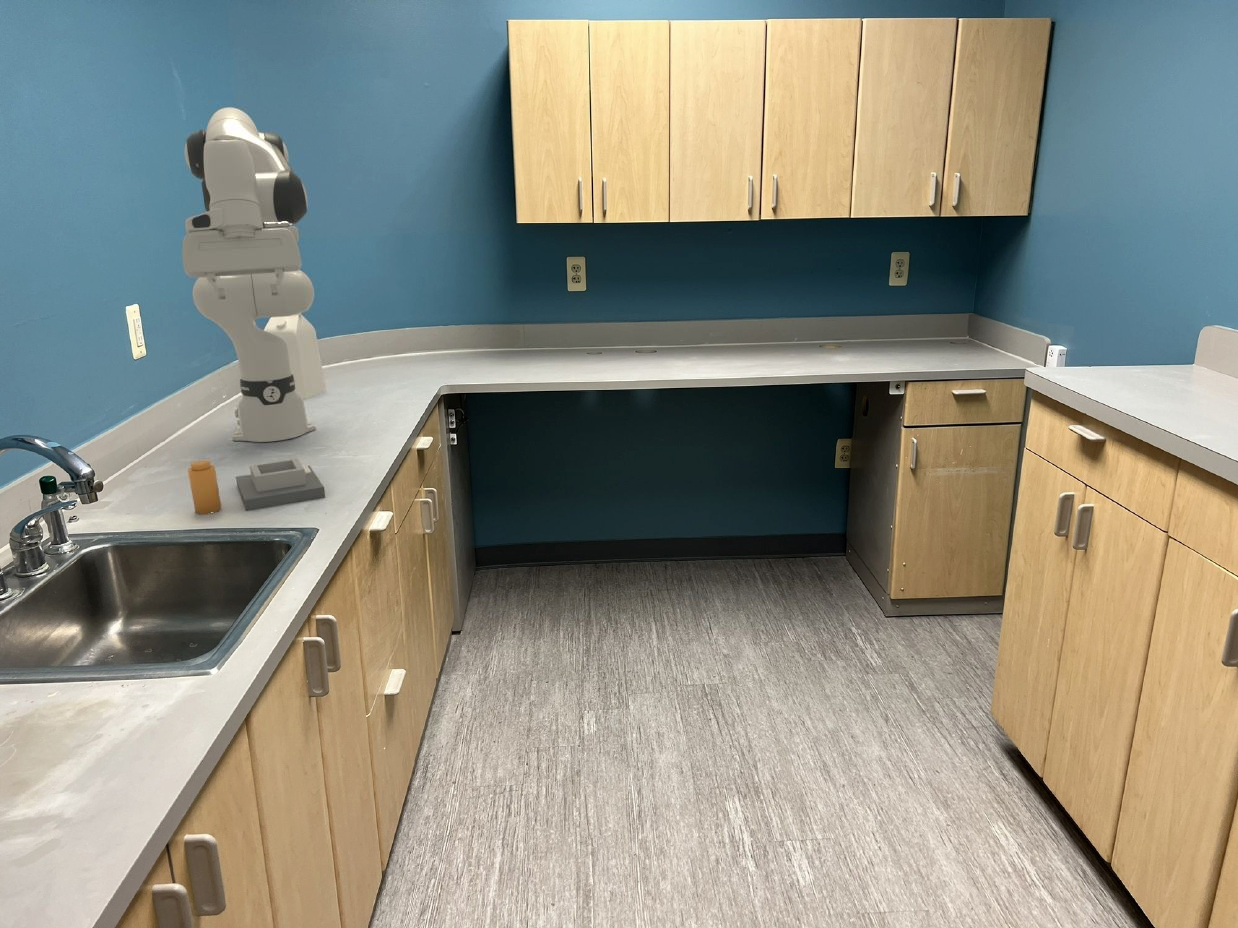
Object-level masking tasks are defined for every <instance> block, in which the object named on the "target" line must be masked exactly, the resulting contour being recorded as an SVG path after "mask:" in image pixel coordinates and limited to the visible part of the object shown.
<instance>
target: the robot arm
mask: <svg viewBox="0 0 1238 928" xmlns="http://www.w3.org/2000/svg"><path fill="white" fill-rule="evenodd" d="M289 156H290V155H289V151H288V148H287V146H286V144H285V143H284V141H283V138H281V136H280V135H279V134H276V133H273V132H269V131H263V132H260V131H259V130H258V128H257V127H256V124H255V122H254V121H253V119H252V118H251V117H250V116H249V115H248V113H246V112H245V111H243V110H241V109H239V108H236V107H223V108H221V109H218V110H216V111H215V112H214V114H213V115H212V116H211V117H210V119H209V121H208V123H207V127H206V130H203V129H199V130H198V131H197V132H194V133H191V134H190V135H189V136H188V137H187V138H186V142H185V146H184V160H185V163H186V164H187V166H188V169H190V172H191V174H192V175H193V176H194V177H195V178H196V179H199V180H202V181H201V183H200V185H201V188H202V195H203V203H204V204H203V205H204V209H205V211H206V212H202V213H200V214H197V215H194V216H191V217H188V218H186V219H185V222H184V224H185V225H184V226H185V231H186V234H185V235H184V237H183V241H182V250H181V252H182V254H181V255H182V256H181V257H182V265H183V270H184V272H185V274H186V275H187V276H189V278H191V279H196V281H195V283H194V284H193V287H192V300H193V304H194V305H195V307H196V309H197V310H198V312H199V313H200V314H201V315H203V316H204V317H205V318H206V319H207V320H209V321H212V322H213V323H215V324H216V325H217V326H218V327H220V328H221V330H223V331H224V332H225V334H227V337H228V338H230V340H231V342H232V344H233V347H234V350H235V353H236V356H237V361H238V365H239V370H240V371H239V372H240V377H241V378H240V380H239V388H240V391H241V393H240V394H241V395H242V398H241V400H240V401H239V402H238V404H237V405H236V407H235V408H234V416H235V418H237V419H238V420H237V426H236V427H235V430H234V432H233V433H232V434H233V435H232V441H235V442H236V441H237V442H238V441H247V442H253V443H255V442H256V443H258V442H259V443H264V442H265V443H266V442H267V443H268V442H276V441H277V442H279V441H285V440H289V439H293V438H297V437H301V436H302V435H304V434H306V433H308V432H312V431H315V430H316V429H317V428H316V425H315V424H313V423H311V422H310V421H308V418H307V413H306V412H307V411H306V406H305V400H303V397H301V396H300V395H298V394H297V393H296V392H295V380H294V377H293V375H292V374H291V368H290V361H289V353H288V347H287V344H286V343H285V341H284V340H283V339H282V338H280V337H278V336H276V335H274V334H272V333H269V332H266V331H264V329H261V328H260V327H258V324H257V323H256V322H255V320H258V319H266V318H271V317H285V316H291V315H295V314H299V313H301V314H302V313H306V312H308V311H309V310H310V308H311V307H312V305H313V302H314V300H315V288H314V285H313V283H312V281H311V279H310V277H309V276H308V275H307V274H306V273H305V272H303V271H302V270H300V269H301V268H302V266H303V262H302V257H301V253H300V249H299V246H298V245H299V242H300V231H299V228H298V227H297V226H296V224H297V223H299V222H300V221H301V220H302V219H303V218H304V217H305V215H306V214H307V213H308V205H309V204H308V202H309V201H308V195H307V190H306V187H305V186H304V184H303V182H302V180H301V178H300V176H298V175H297V174H296V173H295V172H294V170H293V169H292V168H291V165H290V164H289V161H290V158H289Z"/></svg>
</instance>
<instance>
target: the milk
mask: <svg viewBox="0 0 1238 928" xmlns="http://www.w3.org/2000/svg"><path fill="white" fill-rule="evenodd" d="M263 331H266V332H269V333H272V334H274V335H276V336H278V337H280V338H282V339H283V340H284V341H285V343H286V344H287V347H288V353H289V361H290V368H291V374H292V375H293V377H294V380H295V392H296V393H297V394H298V395H300V396H301V397H303V400H304V401H306V400H309V399H311V398H313V397H316V396H318V395H320V394H322V393H325V392H327V387H326V381H325V377H324V371H323V365H322V358H321V355H320V353H321V352H320V348H319V343H318V337H317V331H316V329H315V327H314V326H313V325H312V323H311V322H310V321H308V320H307V318H306V317H305V316H304V315H303V314H302V313H299V314H295V315H291V316H285V317H269V320H268V322H267V323H266V325H265V327H264V329H263Z"/></svg>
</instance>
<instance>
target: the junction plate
mask: <svg viewBox="0 0 1238 928" xmlns="http://www.w3.org/2000/svg"><path fill="white" fill-rule="evenodd" d="M249 469H250V474H246V475H239V476H235V481H236V486H237V489H238V493H239V495H240V498H241V500H242V503H243V505H244V508H245V511H250V510H251V509H252V510H257V509H261V507H264V508H269V507H274V506H280V504H281V505H286V504H287V505H288V504H291V503H298V501H299V502H304V501H305V502H306V501H310V500H314V499H315V500H317V499H322V498H326V491H325V485H324V484H323V483H322V482H321V481H320V478H319V477H318V476H317V475H316V472H315V471H314V470H313V469H312V467H311V466H310V465H303V464H302V463H301V462H300V460H299V458H298V457H293V458H288V459H287V458H286V459H281V460H274V461H267V462H260V463H259V462H258V463H253V464H249Z"/></svg>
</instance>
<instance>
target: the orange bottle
mask: <svg viewBox="0 0 1238 928" xmlns="http://www.w3.org/2000/svg"><path fill="white" fill-rule="evenodd" d="M187 473H188V479H189V484H190V490H191V494H192V495H191V496H192V501H193V507H194V511H195V512H196V514H198V515H209V514H208V513H211V512H215V513H217V512H216V511H218V512H219V510H220V509H221V507H222V502H221V495H220V490H219V484H218V478H217V473H216V467H215V465H214V464H211V461H210V460H199V461H194V462H191V463H190V468H188V469H187ZM221 510H222V509H221ZM221 510H220V511H221ZM211 514H212V513H211Z"/></svg>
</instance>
